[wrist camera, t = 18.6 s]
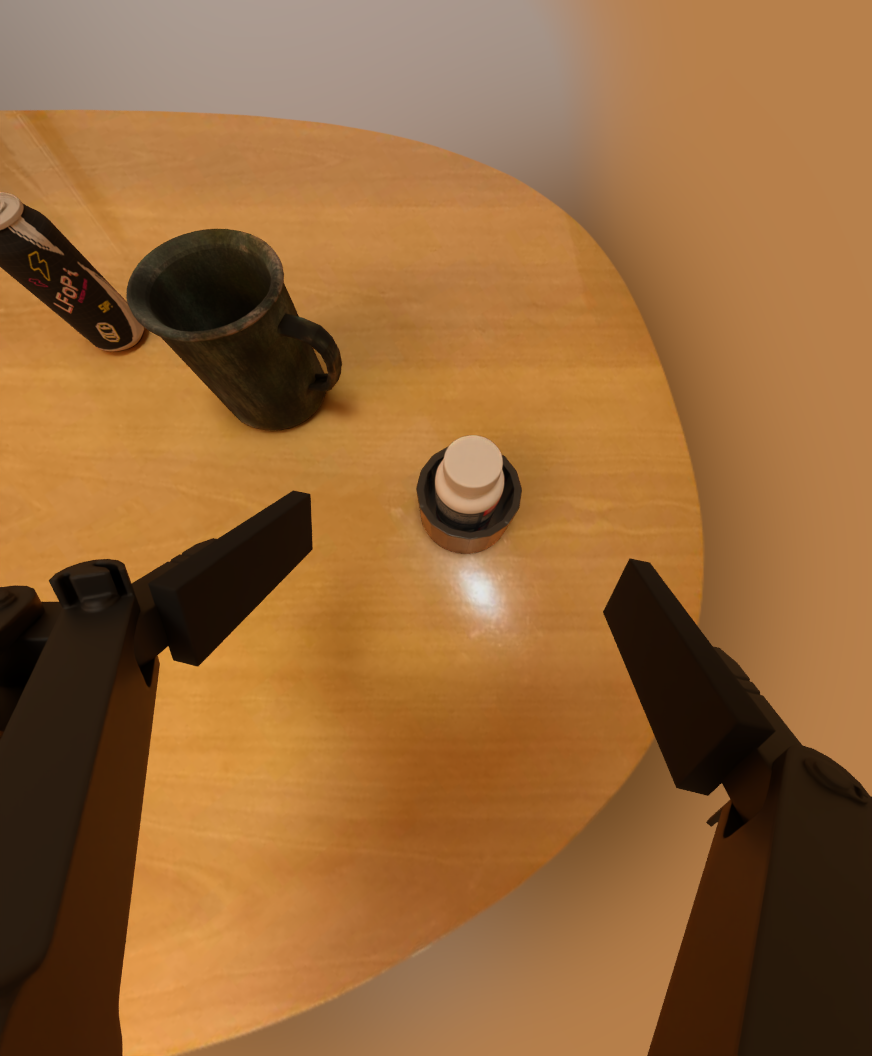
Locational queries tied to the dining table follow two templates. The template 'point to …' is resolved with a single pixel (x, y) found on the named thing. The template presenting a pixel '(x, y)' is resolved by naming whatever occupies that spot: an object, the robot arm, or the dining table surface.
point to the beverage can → (63, 277)
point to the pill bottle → (469, 483)
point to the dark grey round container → (462, 539)
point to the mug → (235, 325)
